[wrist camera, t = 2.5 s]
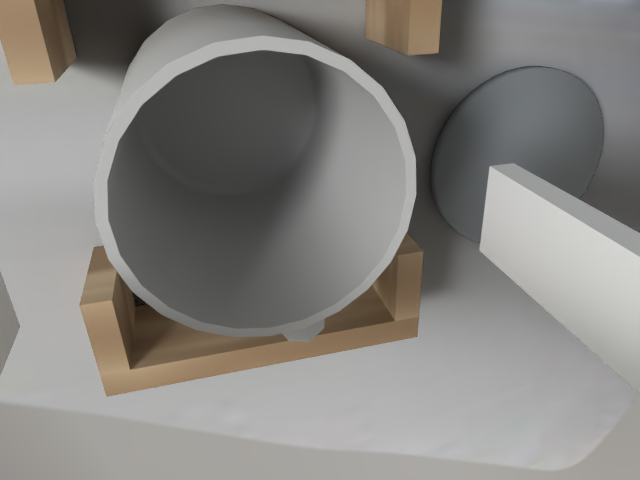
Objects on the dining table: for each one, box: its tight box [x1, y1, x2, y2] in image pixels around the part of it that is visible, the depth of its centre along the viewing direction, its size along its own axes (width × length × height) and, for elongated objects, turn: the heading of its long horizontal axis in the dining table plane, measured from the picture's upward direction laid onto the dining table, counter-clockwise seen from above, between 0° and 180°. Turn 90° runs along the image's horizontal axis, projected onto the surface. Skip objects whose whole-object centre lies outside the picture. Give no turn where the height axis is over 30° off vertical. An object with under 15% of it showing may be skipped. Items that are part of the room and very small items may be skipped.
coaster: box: [431, 66, 604, 243], centre depth 23 cm, size 8×8×1 cm
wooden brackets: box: [0, 0, 442, 396], centre depth 18 cm, size 15×12×4 cm
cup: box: [93, 4, 416, 342], centre depth 16 cm, size 7×10×9 cm
